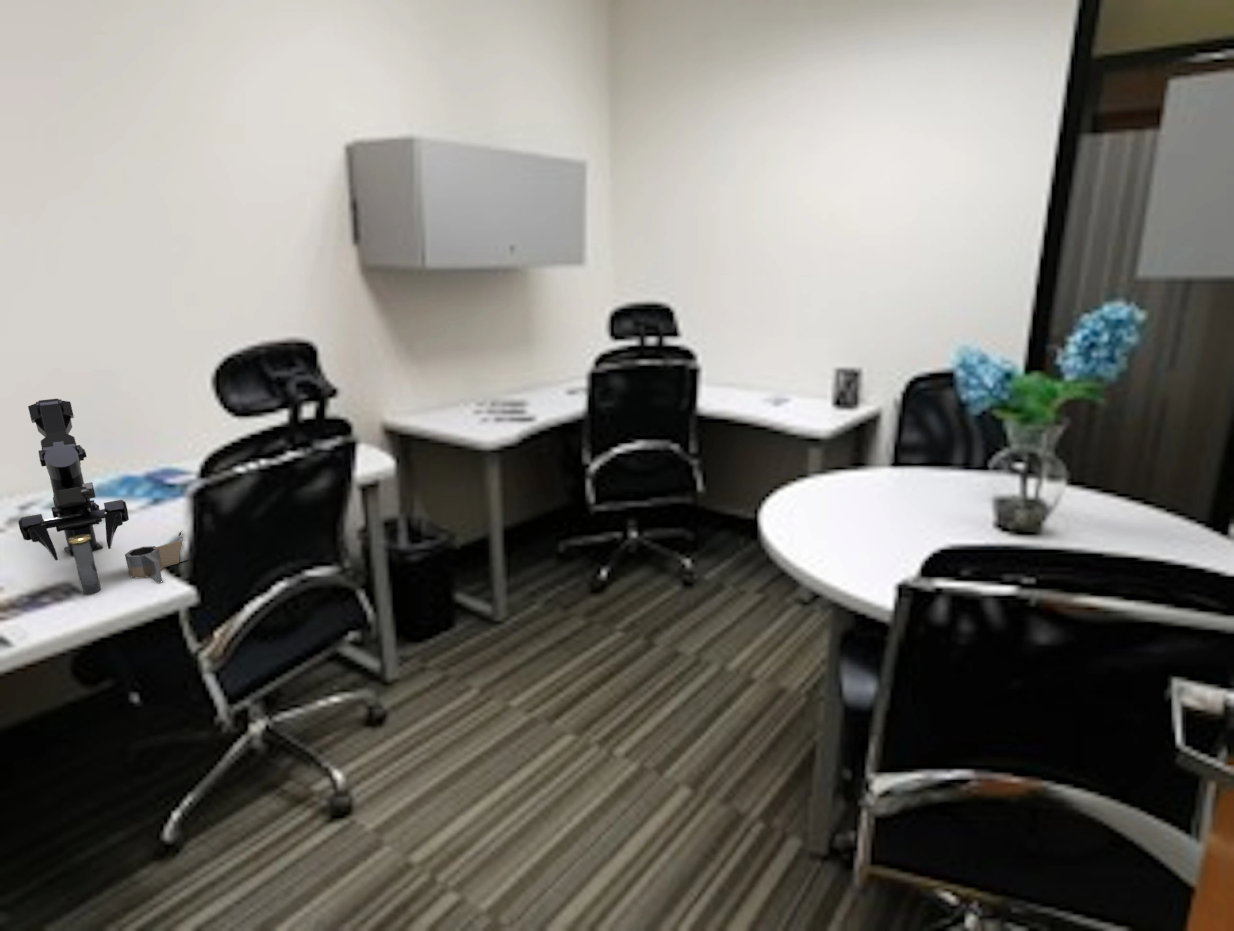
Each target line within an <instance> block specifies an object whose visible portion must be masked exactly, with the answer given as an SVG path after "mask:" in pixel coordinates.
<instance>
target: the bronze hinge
mask: <svg viewBox="0 0 1234 931" xmlns="http://www.w3.org/2000/svg"><path fill="white" fill-rule="evenodd" d="M183 540H184V539H181V540H177V541H173V542H169V543H166V544H163V545H159V546H151V545H150V546H146V545H145V546H141V547H137V548H133V549H130V550H129V551H127V552H126V553H125V554H124V556H125V558H124V559H125V561H126V567H127V570H128V576H130V577H131V576H132V577H131V578H132V579H136V578H135V577H144V578H147V577H146V576H148V577H150V579H152V578H153V579H152V580H154V581H155V580H156V581H157V582H156V581H155V582H156V583H158V582H161V581H162V582H163V578H162V574H161V572H162V570H164V568H166V567H170V566H172V565H177V564H180V563H179V555H180V549H181V546H182V541H183ZM162 582H161V583H162Z"/></svg>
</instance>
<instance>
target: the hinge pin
mask: <svg viewBox="0 0 1234 931" xmlns="http://www.w3.org/2000/svg"><path fill="white" fill-rule="evenodd" d="M90 539H91V536H90V535H89V534H81V535H76V536H73V537H71V538H69V539H68V541H69V543H71V545H72V550H73V554H74V556H73V558H74V561H75V565H76V570H77V573H78V578H79V582H80V587H81V591H82V594H83V595H85V596H90V595H95V594H98V593H99V592H101V591H102V588H101V582H100V579H99V578H100V577H99V574H98V570H97V565H96V562H95V557H94V553H93V551H92V548H91V544H90Z"/></svg>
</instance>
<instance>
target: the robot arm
mask: <svg viewBox="0 0 1234 931" xmlns="http://www.w3.org/2000/svg"><path fill="white" fill-rule="evenodd" d="M27 407H28V412H29V413H28V414H29V416H30V420H31V423H32V424H34V423H35V425H36V428H37V432H38V433H39V434H40V435H42V436H43V437H44V438H43V439H41V440H40V446H41V449H40V450H38V457H39V461H40V465H41V467H46V470H47V472H48V475H49V480H50V483H51V488H52V493H53V497H52V501H53V505H54V506H52V507H50V509H51V512H52V513H51V514H52V516H53V517H52V518H48V519H47V518H46V519H44V518H43V514H42V513H38V514H33V515H28V516H27V515H26V516H21V517H20V518H19V520H18V521H17V522H18V527H19V530H20V533H21V535H22V538H23V540H24V541H31V542H33V543H39V544H40V545H42V546H43V547H44V548H45V549H46V550H47V551H48V552H49V554H50V555H51V556H52V558H53V559H54V560H55V561H58V560H59V559H58V554H57V551H56V548H55V546H54V544H53V540H52V538H51V536H50V533H49V531H48V529H53V528H56V532H57V533H59V532H64V536H65V540H66V544H67V546H64V547H63V550H64V551H65V552H66V553H67V554H69V555H70V556H72V557H74V554H73V550H72V545H71V543H69V541H68V539H69V538H71V537H73V536H76V535H81V534H89V535H90V536H91V539H90V544H91V548H92V552H93V551H97V550H99V549H102V548H104V547H103V545H102V544H100V543H99V541H97V538H96V537H97V536H96V533H95V530H94V525H100V523H102V522H103V520H102V519H104V522H105V523H104V524H105V536H106V545H107V548H108V550H110V549H112V545H113V540H114V536H115V533H116V531H117V530H118V527H120V526H123V524H124V523H125V522H128V521H129V520H130V518H129V512H128V506H127V503H126V501H125V500H123V499H119V500H113V501H108V502H103V506H104V508H102V509H100V506H99V504H97V503H96V502H95V500H94V498H95V499H96V493H95V488H94V485H93V484H94V483H93V482H92V481H91V482H85V481H84V476H83V472H82V467H81V465H82V464H81V461H85V458H87V451H86V450H85V448H83V447H82V446H81V444H77V443H76V438H75V436H73V435H71V434H70V433H71V430H72V428H73V424H72V419H74V418H75V415H74V411H73V407H72V403H71V401H70V400H69V401H67V400H62V399H59V398H51V399H49V398H48V399H40V400H38V401H35V403H33V404H31V405H28V406H27ZM91 499H92V500H91Z"/></svg>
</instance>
